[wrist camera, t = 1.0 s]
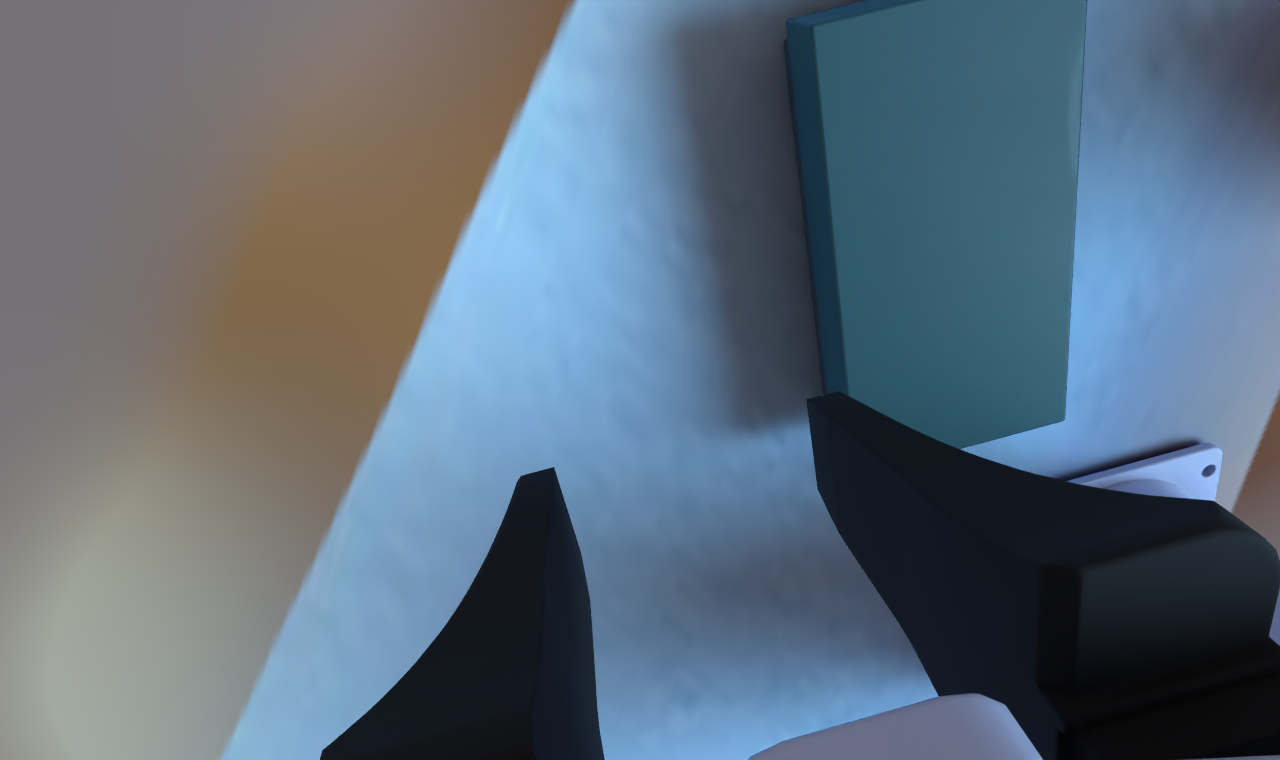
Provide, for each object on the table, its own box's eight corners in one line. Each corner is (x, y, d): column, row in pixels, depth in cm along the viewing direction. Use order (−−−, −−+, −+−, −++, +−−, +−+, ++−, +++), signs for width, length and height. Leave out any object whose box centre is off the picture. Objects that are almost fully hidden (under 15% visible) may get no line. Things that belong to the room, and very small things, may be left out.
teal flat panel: (1009, 376, 26) (1066, 421, 24) (818, 427, 26) (855, 478, 24) (1014, -44, 21) (1091, -45, 18) (769, 17, 20) (810, 24, 18)
